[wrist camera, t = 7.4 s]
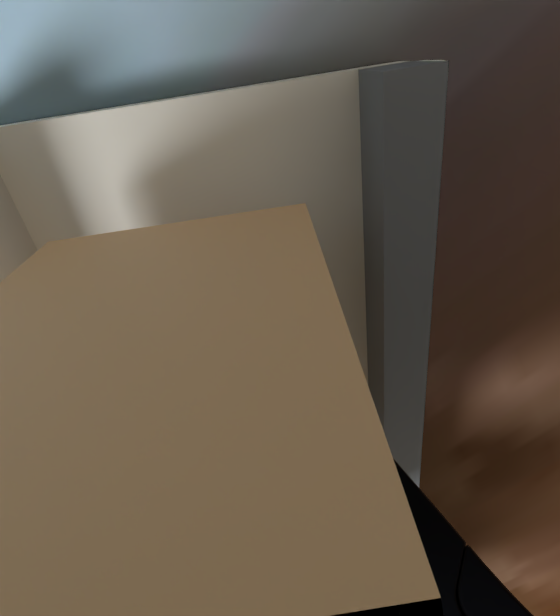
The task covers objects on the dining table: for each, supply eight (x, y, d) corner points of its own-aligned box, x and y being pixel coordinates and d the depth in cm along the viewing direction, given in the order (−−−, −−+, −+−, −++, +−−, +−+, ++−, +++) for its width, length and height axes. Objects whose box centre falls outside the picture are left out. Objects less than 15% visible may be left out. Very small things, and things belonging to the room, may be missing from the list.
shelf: (393, 600, 21) (408, 664, 19) (16, 643, 22) (-12, 710, 19) (403, 59, 8) (455, 60, 6) (-497, 204, 9) (-745, 252, 7)
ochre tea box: (48, 241, 8) (-652, 837, 2) (310, 202, 8) (501, 709, 2) (174, 512, 12) (98, 927, 6) (338, 491, 12) (415, 895, 6)
